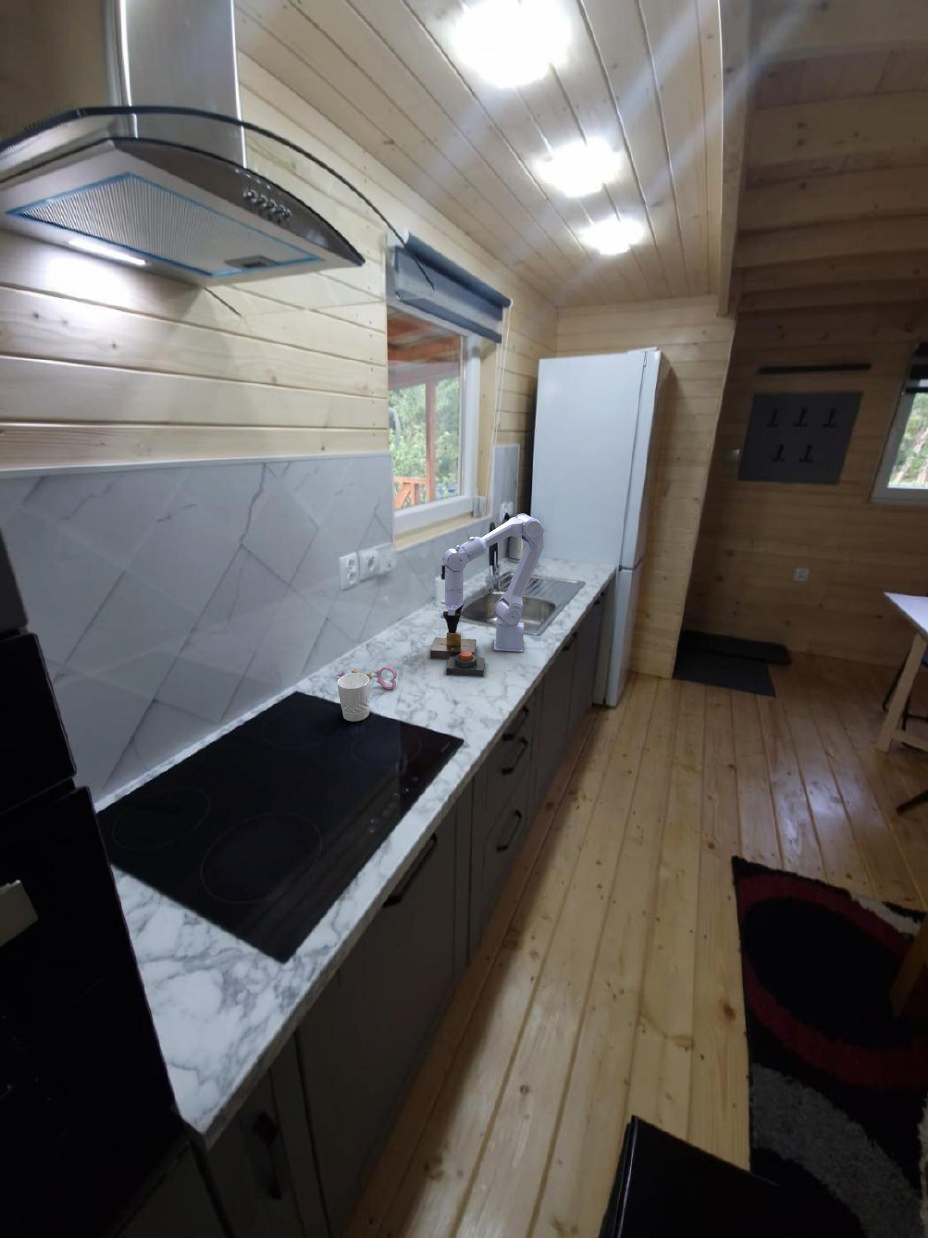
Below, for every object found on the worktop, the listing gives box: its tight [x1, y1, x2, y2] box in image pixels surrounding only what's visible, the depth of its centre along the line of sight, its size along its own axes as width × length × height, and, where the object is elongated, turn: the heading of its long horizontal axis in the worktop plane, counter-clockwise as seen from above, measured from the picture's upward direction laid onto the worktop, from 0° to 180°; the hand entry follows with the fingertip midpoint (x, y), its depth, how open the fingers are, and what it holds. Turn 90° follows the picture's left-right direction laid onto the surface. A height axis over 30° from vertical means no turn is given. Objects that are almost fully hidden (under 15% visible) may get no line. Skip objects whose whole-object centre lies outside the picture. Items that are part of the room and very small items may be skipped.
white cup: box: [336, 672, 371, 722], centre depth 126 cm, size 8×8×10 cm
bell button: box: [460, 651, 472, 661], centre depth 150 cm, size 4×4×2 cm
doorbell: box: [446, 654, 486, 677], centre depth 151 cm, size 11×8×4 cm
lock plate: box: [429, 636, 477, 660], centre depth 161 cm, size 14×10×3 cm
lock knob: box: [445, 630, 462, 646], centre depth 160 cm, size 5×2×4 cm, turn 85°
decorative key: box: [336, 665, 398, 690], centre depth 142 cm, size 7×1×20 cm
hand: (453, 628), depth 159 cm, fingers open, 7 cm apart
